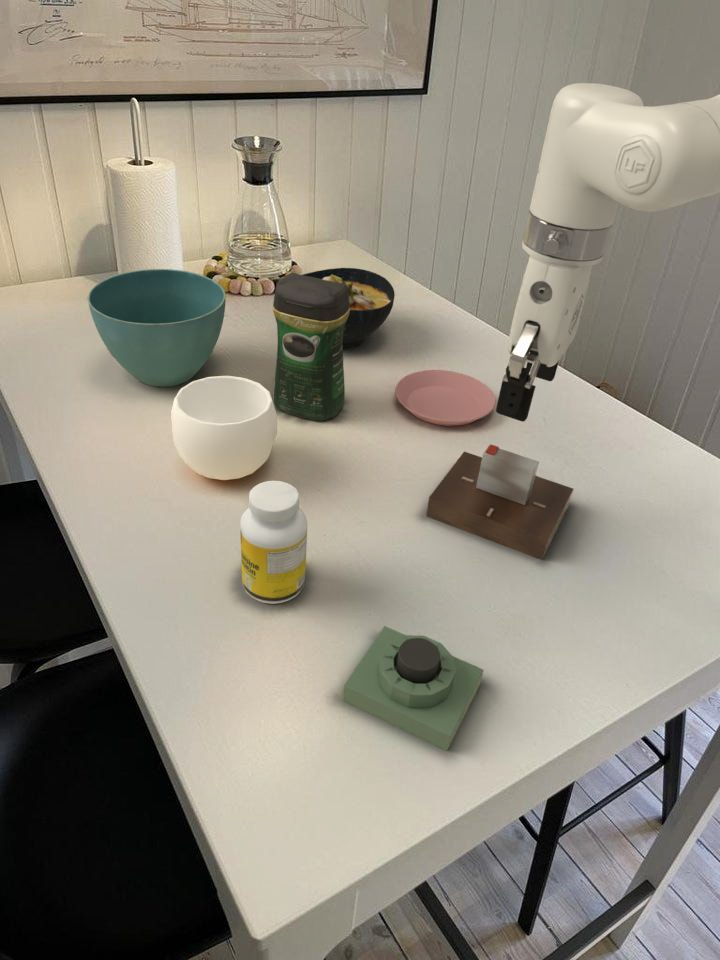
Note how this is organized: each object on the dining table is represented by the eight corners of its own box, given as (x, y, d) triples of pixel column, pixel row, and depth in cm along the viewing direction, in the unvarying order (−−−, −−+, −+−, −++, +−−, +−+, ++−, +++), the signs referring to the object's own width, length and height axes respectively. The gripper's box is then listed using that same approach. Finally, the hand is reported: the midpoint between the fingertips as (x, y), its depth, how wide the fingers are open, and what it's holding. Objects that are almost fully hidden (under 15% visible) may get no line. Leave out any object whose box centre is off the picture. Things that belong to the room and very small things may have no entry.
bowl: (408, 336, 126) (415, 278, 120) (351, 374, 114) (355, 312, 108) (326, 307, 133) (328, 251, 127) (263, 340, 121) (263, 280, 115)
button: (444, 661, 66) (446, 648, 65) (427, 690, 63) (430, 677, 62) (407, 644, 67) (409, 631, 66) (389, 672, 65) (391, 659, 64)
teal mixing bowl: (245, 392, 107) (244, 312, 100) (115, 415, 100) (103, 331, 93) (206, 337, 120) (202, 263, 113) (88, 355, 113) (75, 276, 105)
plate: (472, 444, 101) (475, 432, 99) (377, 413, 105) (378, 401, 104) (506, 399, 111) (508, 387, 110) (417, 372, 116) (419, 360, 115)
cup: (192, 507, 86) (187, 437, 80) (163, 450, 95) (156, 383, 89) (292, 483, 91) (293, 415, 85) (255, 431, 100) (255, 366, 94)
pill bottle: (246, 560, 80) (243, 472, 73) (307, 563, 80) (310, 476, 73) (237, 605, 74) (234, 515, 68) (303, 608, 75) (306, 519, 68)
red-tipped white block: (530, 496, 87) (539, 459, 84) (524, 505, 86) (534, 468, 83) (481, 479, 89) (489, 442, 86) (475, 488, 88) (483, 451, 85)
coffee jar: (350, 401, 107) (360, 276, 96) (329, 428, 101) (336, 298, 90) (289, 385, 110) (291, 261, 99) (264, 410, 104) (264, 282, 93)
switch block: (480, 685, 69) (487, 656, 66) (446, 752, 63) (453, 723, 61) (382, 641, 72) (386, 612, 70) (342, 701, 66) (344, 671, 64)
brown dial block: (567, 508, 91) (574, 487, 89) (541, 560, 83) (547, 539, 81) (460, 470, 96) (464, 450, 94) (425, 517, 88) (429, 495, 86)
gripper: (582, 275, 62) (535, 446, 72) (625, 221, 74) (580, 373, 85) (496, 253, 64) (462, 421, 75) (552, 204, 77) (517, 354, 87)
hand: (525, 395), depth 80 cm, fingers open, 9 cm apart
